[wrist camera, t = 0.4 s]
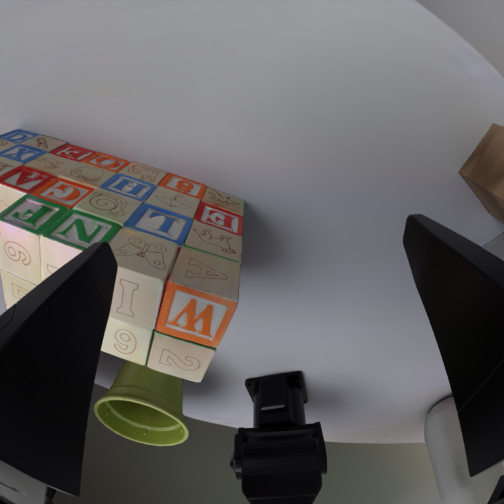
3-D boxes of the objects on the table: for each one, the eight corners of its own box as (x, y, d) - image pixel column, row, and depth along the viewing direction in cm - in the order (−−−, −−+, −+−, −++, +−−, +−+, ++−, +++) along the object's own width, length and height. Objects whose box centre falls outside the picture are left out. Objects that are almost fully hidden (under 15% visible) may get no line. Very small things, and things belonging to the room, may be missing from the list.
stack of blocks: (12, 191, 23) (-77, 258, 12) (17, 127, 20) (-89, 174, 9) (220, 265, 26) (201, 388, 16) (247, 199, 23) (241, 306, 13)
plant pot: (166, 320, 29) (144, 392, 22) (213, 376, 34) (206, 442, 26) (102, 341, 31) (75, 402, 24) (151, 390, 36) (136, 448, 28)
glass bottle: (479, 386, 38) (530, 521, 14) (438, 421, 43) (474, 549, 18) (450, 380, 36) (506, 542, 12) (405, 418, 41) (440, 568, 16)
